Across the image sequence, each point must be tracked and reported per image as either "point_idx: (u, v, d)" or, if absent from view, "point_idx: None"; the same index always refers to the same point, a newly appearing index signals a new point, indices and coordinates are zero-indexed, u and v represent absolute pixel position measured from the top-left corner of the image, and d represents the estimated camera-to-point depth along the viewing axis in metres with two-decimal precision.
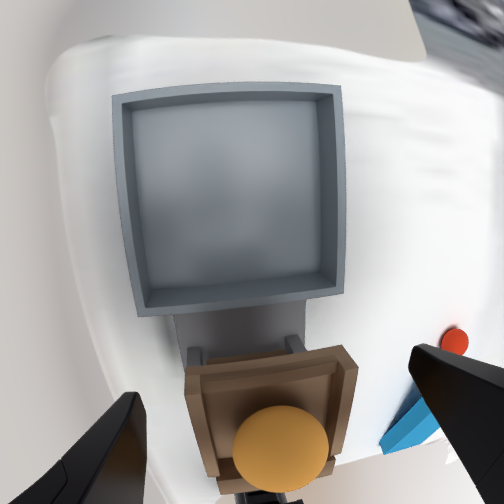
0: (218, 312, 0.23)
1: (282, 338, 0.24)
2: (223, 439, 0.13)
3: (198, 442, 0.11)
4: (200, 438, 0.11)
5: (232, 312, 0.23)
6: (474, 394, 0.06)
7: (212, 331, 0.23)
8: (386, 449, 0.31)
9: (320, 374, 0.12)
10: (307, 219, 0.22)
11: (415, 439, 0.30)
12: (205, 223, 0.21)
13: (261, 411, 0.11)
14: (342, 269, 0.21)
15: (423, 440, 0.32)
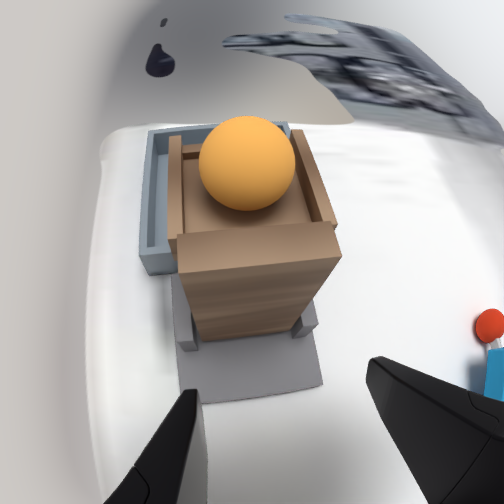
0: None
1: None
2: (195, 218, 0.14)
3: (168, 179, 0.13)
4: (171, 174, 0.13)
5: None
6: (429, 417, 0.06)
7: None
8: None
9: None
10: None
11: None
12: None
13: None
14: None
15: None
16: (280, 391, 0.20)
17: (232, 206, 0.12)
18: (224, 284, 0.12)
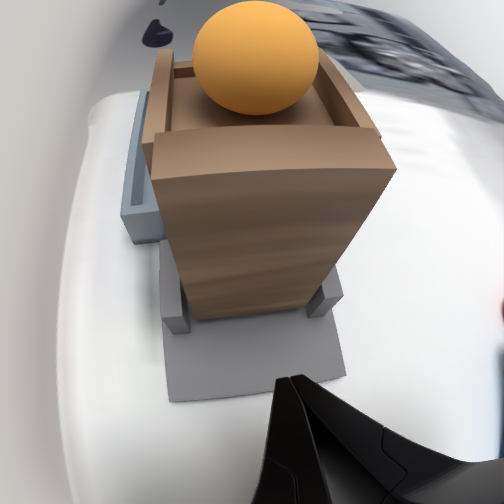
0: None
1: None
2: None
3: (152, 84, 0.09)
4: (156, 80, 0.09)
5: None
6: (333, 451, 0.06)
7: None
8: None
9: None
10: None
11: None
12: None
13: None
14: None
15: None
16: None
17: (236, 97, 0.08)
18: (223, 210, 0.08)
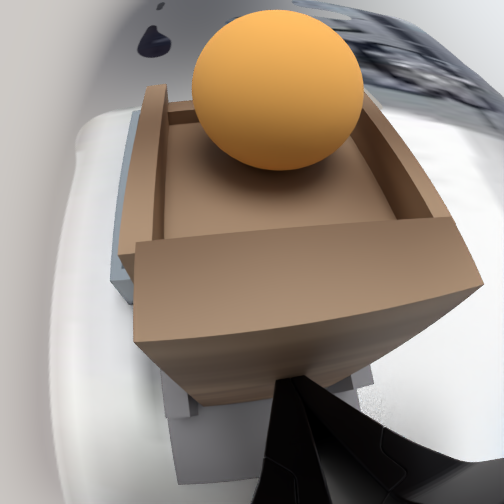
0: None
1: None
2: (185, 216, 0.07)
3: (136, 141, 0.06)
4: (141, 133, 0.07)
5: None
6: (333, 451, 0.06)
7: None
8: None
9: None
10: None
11: None
12: None
13: None
14: None
15: None
16: None
17: (259, 129, 0.05)
18: (247, 356, 0.05)
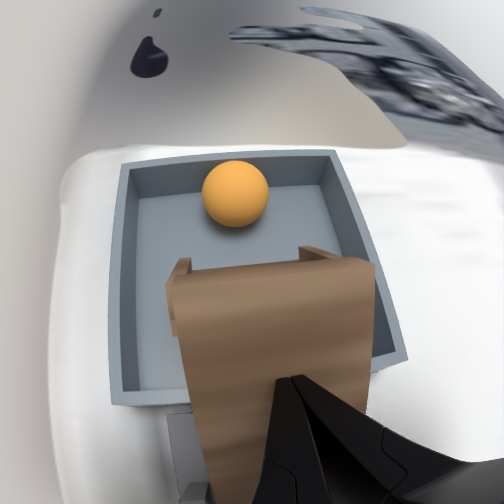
0: None
1: None
2: None
3: (175, 268, 0.13)
4: (178, 266, 0.13)
5: None
6: (333, 451, 0.06)
7: None
8: None
9: (287, 262, 0.16)
10: None
11: None
12: None
13: (224, 165, 0.17)
14: (396, 327, 0.14)
15: None
16: None
17: None
18: (233, 329, 0.09)
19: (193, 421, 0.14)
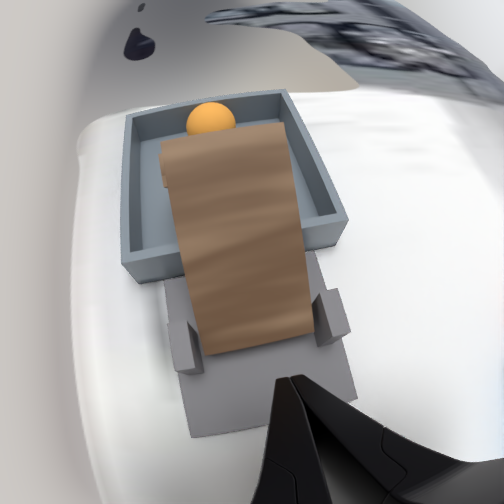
0: None
1: None
2: None
3: None
4: None
5: None
6: (333, 451, 0.06)
7: None
8: None
9: None
10: None
11: None
12: None
13: (201, 105, 0.22)
14: (336, 197, 0.19)
15: None
16: None
17: None
18: (197, 163, 0.14)
19: (184, 282, 0.19)
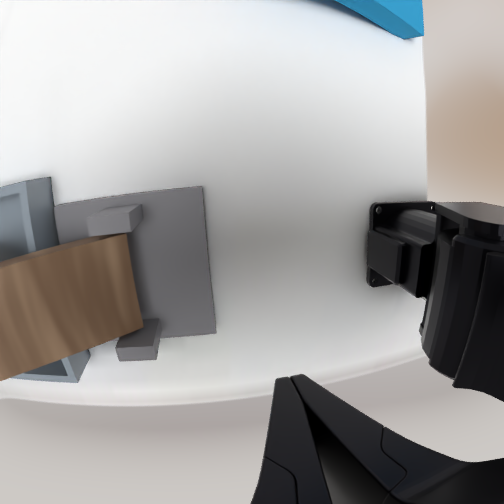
0: None
1: None
2: None
3: None
4: None
5: None
6: (333, 451, 0.06)
7: None
8: (413, 30, 0.16)
9: None
10: (0, 212, 0.17)
11: None
12: None
13: None
14: (4, 189, 0.14)
15: None
16: (204, 238, 0.19)
17: None
18: None
19: None
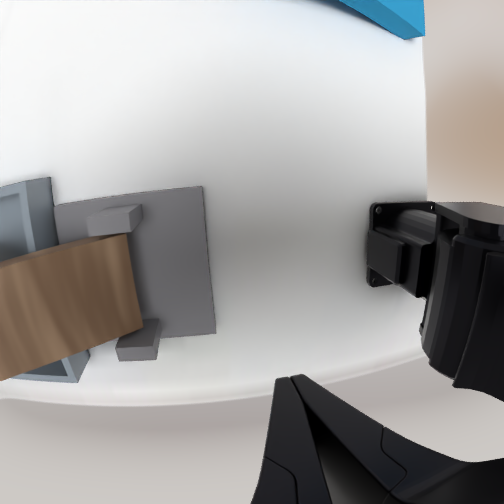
0: None
1: None
2: None
3: None
4: None
5: None
6: (333, 451, 0.06)
7: None
8: (414, 30, 0.16)
9: None
10: (0, 212, 0.17)
11: None
12: None
13: None
14: (4, 189, 0.14)
15: None
16: (203, 238, 0.19)
17: None
18: None
19: None
